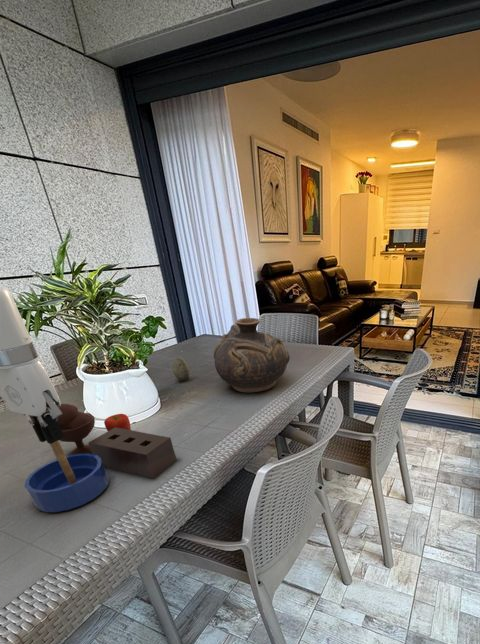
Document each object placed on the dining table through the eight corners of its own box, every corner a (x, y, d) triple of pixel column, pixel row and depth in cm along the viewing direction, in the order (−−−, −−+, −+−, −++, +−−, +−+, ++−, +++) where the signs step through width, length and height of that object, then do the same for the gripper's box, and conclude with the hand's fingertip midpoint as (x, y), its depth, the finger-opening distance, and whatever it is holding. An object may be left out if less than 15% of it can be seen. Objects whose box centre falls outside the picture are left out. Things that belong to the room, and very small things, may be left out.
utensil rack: (97, 465, 91) (88, 442, 88) (123, 449, 98) (115, 427, 94) (153, 478, 85) (145, 454, 82) (176, 460, 92) (170, 437, 89)
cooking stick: (69, 487, 80) (34, 417, 71) (75, 483, 81) (42, 414, 73) (74, 488, 80) (40, 418, 71) (80, 484, 81) (48, 415, 72)
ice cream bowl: (114, 445, 100) (95, 397, 92) (76, 467, 91) (52, 415, 84) (89, 438, 104) (70, 392, 96) (50, 458, 95) (26, 408, 88)
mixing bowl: (21, 506, 78) (8, 484, 75) (80, 469, 90) (71, 449, 87) (67, 520, 73) (56, 498, 71) (123, 479, 85) (115, 459, 82)
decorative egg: (172, 382, 142) (166, 358, 137) (182, 377, 147) (176, 353, 142) (185, 383, 140) (179, 359, 135) (194, 378, 145) (189, 354, 140)
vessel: (240, 369, 152) (234, 309, 140) (300, 378, 144) (299, 316, 132) (202, 393, 130) (191, 324, 117) (270, 405, 122) (266, 333, 110)
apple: (123, 432, 107) (116, 409, 103) (139, 435, 104) (131, 412, 101) (106, 442, 101) (97, 419, 98) (122, 446, 99) (113, 422, 96)
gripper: (-38, 358, 65) (9, 443, 74) (18, 365, 60) (61, 454, 69) (6, 347, 71) (44, 426, 80) (60, 352, 66) (94, 436, 75)
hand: (52, 439), depth 74 cm, fingers closed on cooking stick, 1 cm apart
